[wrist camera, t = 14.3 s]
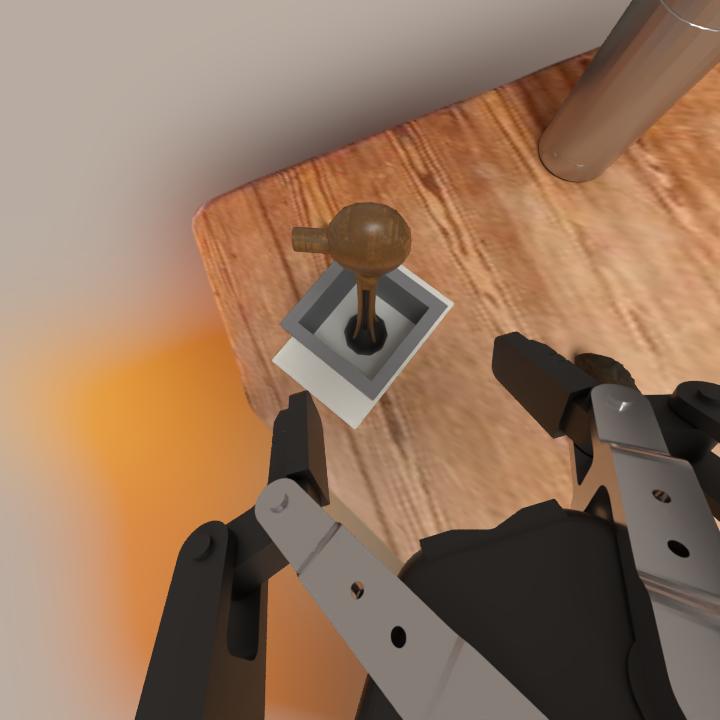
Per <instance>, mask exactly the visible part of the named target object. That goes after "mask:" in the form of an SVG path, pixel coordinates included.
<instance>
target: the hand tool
mask: <svg viewBox="0 0 720 720" xmlns="http://www.w3.org/2000/svg"><path fill="white" fill-rule="evenodd" d="M576 366H577V367H579V368H580V369H581V370H583V371H584V372H586V373H587V374H589V375H590V376H591V377H593V378H594V379H596V380H597V381H599V382H600V383H601V384H617V385H622V386H626V387H629V388H631V389H634V390H636V391H638V392H639V393H641V392H640V390H639V389H638V388H637V386H636V385H635V381H634V379H633V378H632V377H631V374H630V373H629V372H628V370H626V369H625V368H624V367H623V365H622V364H620V363H619V362H617V361H615V360H614V359H612V358H610V357H606V356H602V355H597V354H593V353H584V354H580V355H577V356H576Z"/></svg>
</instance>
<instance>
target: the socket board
mask: <svg viewBox="0 0 720 720" xmlns="http://www.w3.org/2000/svg"><path fill="white" fill-rule="evenodd" d="M454 304H455V303H453V302H452V301H450V300H449V299H448V298H446V297H445V296H444V295H442V294H441V293H439V292H438V291H437V290H435V289H434V288H433V287H431V286H430V285H429V284H427V283H426V282H424V281H423V280H422V279H420V278H419V277H418V276H416V275H415V274H413V273H412V272H411V271H409V270H408V269H407V268H405V267H404V266H402V265H400V266H399V267H398V268H396V269H395V270H393V271H391V272H389V273H388V274H382V275H381V277H380V279H379V281H378V282H377V289H376V300H375V313H376V314H377V315H378V316H379V317H380V318H381V319H383V320H384V322H385V325H386V329H387V333H388V337H387V339H386V341H385V344H384V346H383V349H381V350H380V351H378V352H376V353H375V354H373V355H371V356H369V355H357V354H356V353H355V352H354V351H353V350H351V349H350V348H349V347H348V346H347V343H346V338H345V334H344V330H345V328H346V326H347V323H348V321H349V319H350V318H351V317H352V316H354V315H356V314H358V297H357V281H356V279H355V275H354V273H352V272H349V271H346V270H345V269H344V268H343V267H341V266H340V265H339V264H338V263H337V262H336V261H334V262H333V263H332V264H331V265H330V267H329V268H328V269H327V270H326V271H325V272H324V273H323V275H322V276H321V277H320V278H319V279H318V280H317V282H316V283H315V284H314V285H313V286H312V287H311V288H310V290H309V291H308V292H307V293H306V294H305V295H304V297H303V298H302V299H301V300H300V301H299V302H298V303H297V305H296V306H295V307H294V308H293V309H292V310H291V312H290V313H289V314H288V315H287V316H286V317H285V318H284V320H283V321H282V322H281V323H280V324H279V325H281V326H282V327H283V328H284V329H285V330H286V331H287V332H288V333H290V334H291V335H292V337H291V338H290V339H289V341H288V342H287V343H286V344H285V345H284V346H283V348H282V349H281V350H280V351H279V352H278V354H277V355H276V356H275V357H274V358H273V359H272V361H273V362H274V363H275V364H276V365H277V366H279V367H280V368H281V369H282V370H284V371H285V372H286V373H287V374H288V375H290V376H291V377H292V378H293V379H294V380H296V381H297V382H298V383H299V384H300V385H302V386H303V387H304V388H305V389H306V390H308V391H309V392H310V393H311V394H312V395H314V396H315V397H316V398H317V399H318V400H320V401H321V402H322V403H323V404H324V405H326V406H327V407H328V408H329V409H330V410H332V411H333V412H334V413H335V414H336V415H338V416H339V417H340V418H341V419H343V420H344V421H345V422H346V423H347V424H349V425H350V426H351V427H352V428H353V429H356V428H357V427H358V426H359V424H360V423H361V422H362V421H363V419H364V418H365V417H366V416H367V414H368V413H369V412H370V410H371V409H372V408H373V407H374V405H375V404H376V403H377V402H378V400H379V399H380V398H381V396H382V395H383V394H384V393H385V391H386V390H387V389H388V388H389V386H390V385H391V384H392V382H393V381H394V380H395V379H396V377H397V376H398V375H399V374H400V372H401V371H402V370H403V368H404V367H405V366H406V365H407V363H408V362H409V361H410V360H411V358H412V357H413V356H414V354H415V353H416V352H417V351H418V349H419V348H420V347H421V346H422V344H423V343H424V342H425V341H426V339H427V338H428V337H429V335H430V334H431V333H432V332H433V330H434V329H435V328H436V327H437V325H438V324H439V323H440V321H441V320H442V319H443V318H444V316H445V315H446V314H447V313H448V311H449V310H450V309H451V307H452V306H453V305H454Z"/></svg>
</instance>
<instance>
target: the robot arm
mask: <svg viewBox="0 0 720 720" xmlns="http://www.w3.org/2000/svg"><path fill="white" fill-rule="evenodd" d="M719 62H720V0H632V1H631V3H630V5H629V6H628V7H627V9H626V10H625V12H624V13H623V15H622V16H621V18H620V19H619V21H618V22H617V24H616V25H615V27H614V28H613V30H612V31H611V33H610V34H609V36H608V37H607V39H606V40H605V41H604V43H603V44H602V46H601V47H600V49H599V50H598V52H597V53H596V55H595V56H594V58H593V59H592V61H591V62H590V64H589V65H588V67H587V68H586V70H585V71H584V73H583V74H582V76H581V77H580V79H579V80H578V82H577V83H576V85H575V86H574V88H573V89H572V91H571V92H570V94H569V95H568V97H567V98H566V100H565V101H564V102H563V104H562V105H561V107H560V108H559V110H558V111H557V113H556V114H555V116H554V117H553V119H552V120H551V122H550V123H549V125H548V126H547V128H546V129H545V131H544V132H543V134H542V136H541V138H540V141H539V154H540V157H541V160H542V162H543V163H544V165H545V166H546V167H547V168H548V170H549V171H551V172H552V173H553V174H554V175H556V176H558V177H560V178H562V179H565V180H568V181H575V182H582V181H588V180H592V179H594V178H596V177H598V176H599V175H601V174H602V173H603V172H604V171H605V170H606V169H607V168H608V167H610V166H611V165H612V164H613V163H614V162H615V161H616V160H617V159H618V158H619V157H620V156H621V155H622V154H623V153H624V152H625V151H626V150H627V149H628V148H629V147H630V146H632V145H633V144H634V143H635V142H636V141H637V140H638V139H639V138H640V137H641V136H642V135H643V134H644V133H645V132H646V131H647V130H649V129H650V128H651V127H652V126H653V125H654V124H655V123H656V122H657V121H658V120H659V119H660V118H661V117H662V116H663V115H664V114H665V113H666V112H667V111H668V110H669V109H671V108H672V107H673V106H674V105H675V104H676V103H677V102H678V101H679V100H680V99H681V98H682V97H683V96H684V95H685V94H686V93H687V92H688V91H689V90H690V89H691V88H693V87H694V86H695V85H696V84H697V83H698V82H699V81H700V80H701V79H702V78H703V77H704V76H705V75H706V74H707V73H708V72H709V71H710V70H711V69H712V68H713V67H715V66H716V65H717V64H718V63H719ZM492 371H493V374H494V376H495V377H496V379H497V380H498V381H499V382H500V383H501V384H502V385H503V386H504V387H505V388H506V389H507V390H508V391H509V393H510V394H511V395H512V396H513V397H514V398H515V399H516V400H517V401H518V402H519V403H520V404H521V405H522V406H523V407H524V408H525V409H526V410H527V411H528V412H529V414H530V415H531V416H532V417H533V418H534V419H535V420H536V421H537V422H538V423H539V424H540V425H541V426H542V427H543V428H544V429H545V430H546V431H547V432H548V433H549V435H550V436H551V437H552V438H553V439H554V438H558V437H561V436H565V435H567V436H568V437H569V438H570V439H571V441H570V443H569V449H570V460H571V471H572V483H573V498H572V502H571V509H562V507H561V506H560V505H559V504H558V502H557V501H556V500H555V499H552V500H548V501H545V502H542V503H539V504H535V505H532V506H529V507H525V508H522V509H521V510H519V511H518V512H516V513H515V514H514V515H512V516H511V517H510V518H508V519H507V520H505V521H504V522H503V523H501V524H500V525H499V526H497V527H496V528H494V529H489V530H450V531H447V532H443V533H440V534H437V535H434V536H430V537H427V538H424V539H420V540H419V541H420V547H421V550H419V551H418V552H417V553H415V554H414V555H413V556H412V557H411V558H410V559H409V560H408V561H407V562H406V564H405V565H404V566H403V568H402V569H401V571H400V572H399V574H398V576H396V575H395V574H394V573H392V572H391V571H390V570H389V569H388V568H387V567H386V566H385V565H384V564H383V563H382V562H381V561H380V560H379V559H378V558H377V557H376V556H375V555H374V554H373V553H372V552H371V551H370V550H369V549H367V547H366V546H364V544H362V543H361V542H360V541H359V540H358V539H357V538H356V537H355V536H354V535H353V534H352V533H351V532H350V531H349V530H348V529H347V528H346V527H345V526H343V525H342V524H341V523H337V522H336V521H335V520H333V518H331V517H330V516H329V515H328V514H327V513H326V512H325V511H324V510H323V509H322V507H323V506H326V505H329V504H330V500H329V490H328V479H327V468H326V457H325V447H324V436H323V427H322V422H321V418H320V415H319V413H318V411H317V409H316V406H315V404H314V402H313V400H312V397H311V395H310V393H309V391H308V390H306V391H302V392H299V393H295V394H292V395H290V396H289V409H286V410H282V411H280V412H279V414H278V416H277V418H276V420H275V421H274V427H273V437H272V448H271V458H270V468H269V478H268V485H267V487H266V488H265V489H264V490H263V491H262V492H261V494H260V495H259V497H258V499H257V501H256V504H255V505H254V506H253V507H252V508H251V509H249V510H248V511H247V512H245V513H244V514H242V515H240V516H239V517H237V518H236V519H234V520H232V521H231V522H229V523H228V524H226V525H225V524H224V523H223V522H220V521H210V522H207V523H205V524H203V525H201V526H200V527H198V528H197V529H196V530H195V531H194V532H192V533H191V535H190V536H189V537H188V538H187V540H186V541H185V542H184V544H183V546H182V548H181V550H180V552H179V555H178V558H177V562H176V566H175V569H174V573H173V577H172V581H171V584H170V588H169V592H168V596H167V599H166V603H165V607H164V611H163V615H162V618H161V622H160V626H159V630H158V633H157V637H156V641H155V645H154V649H153V652H152V656H151V660H150V663H149V667H148V671H147V675H146V679H145V682H144V686H143V690H142V694H141V697H140V701H139V705H138V709H137V712H136V716H135V720H264V715H265V714H264V713H265V678H266V674H265V673H266V639H267V601H268V599H267V598H268V579H269V578H270V577H272V576H273V575H274V574H276V573H277V572H279V571H280V570H281V569H283V568H284V567H285V566H287V565H288V564H289V563H290V564H291V565H292V567H293V568H294V570H295V571H296V572H297V576H298V578H299V579H300V581H301V582H302V584H303V585H304V586H305V588H306V589H307V590H308V592H309V593H310V595H311V596H312V597H313V599H314V600H315V601H316V603H317V604H318V605H319V607H320V608H321V610H322V611H323V612H324V614H325V615H326V616H327V618H328V619H329V620H330V622H331V623H332V624H333V626H334V627H335V628H336V630H337V631H338V633H339V634H340V635H341V636H342V638H343V639H344V641H345V642H346V643H347V644H348V646H349V647H350V648H351V650H352V651H353V653H354V654H355V655H356V657H357V658H358V660H359V661H360V662H361V664H362V665H363V666H364V667H365V669H366V670H367V672H368V674H367V678H366V681H365V685H364V688H363V691H362V695H361V698H360V702H359V705H358V709H357V713H356V716H355V720H720V531H719V529H718V526H717V524H716V522H715V519H714V517H715V518H716V519H717V520H718V521H720V457H718V456H717V455H716V454H714V453H713V452H711V450H712V449H713V448H714V447H715V446H716V445H717V444H718V443H720V385H717V384H714V383H709V382H703V381H688V382H683V383H681V384H679V385H678V386H677V388H676V389H675V391H674V392H673V394H669V395H642V394H641V393H639V392H638V391H636V390H634V389H631V388H629V387H626V386H622V385H617V384H601V383H600V382H599V381H597V380H596V379H594V378H593V377H591V376H590V375H589V374H587V373H586V372H584V371H583V370H581V369H580V368H579V367H577V366H576V365H574V364H573V363H571V362H570V361H569V360H566V358H564V357H563V356H561V355H560V354H557V352H556V351H554V350H553V349H551V348H550V347H549V346H547V345H545V344H543V343H540V342H537V341H535V340H528V339H527V338H526V337H524V336H523V335H521V334H520V333H519V332H511V333H508V334H504V335H501V336H498V337H496V338H495V341H494V349H493V358H492ZM713 516H714V517H713Z"/></svg>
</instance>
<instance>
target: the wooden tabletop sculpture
mask: <svg viewBox="0 0 720 720" xmlns="http://www.w3.org/2000/svg"><path fill="white" fill-rule="evenodd" d="M292 246H293V249H294V251H296V252H310V253H323V254H330V255H331V257H332V258H333V259H334V260H335V261H336V262H337V263H338V264H339V265H340V266H341V267H343V268H344V269H345V270H346V271H349V272H352V273H354V275H355V279H356V281H357V297H358V314H356V315H354V316H352V317H351V318H350V319H349V321H348V323H347V326H346V328H345V330H344V334H345V338H346V343H347V346H348V347H349V348H350V349H351V350H353V351H354V352H355V353H356V354H357V355H369V356H371V355H373V354H375V353H376V352H378V351H380V350H381V349H383V346H384V344H385V341H386V339H387V337H388V333H387V329H386V325H385V322H384V320H383V319H381V318H380V317H379V316H378V315H377V314H376V313H375V300H376V289H377V282H378V281H379V279H380V277H381V275H382V274H388V273H389V272H391V271H393V270H395V269H396V268H398V267H399V266H400V265H401V264H402V263H403V262H404V261H405V259H406V258H407V256H408V254H409V253H410V249H411V231H410V228H409V226H408V225H407V223H406V222H405V221H404V219H403V218H402V217H401V215H400V214H399V213H398V211H396V210H394V209H393V208H391V207H389V206H387V205H383V204H378V203H373V202H367V203H355V204H352V205H350V206H347V207H344V208H343V209H342V210H341V211H340V212H339V213H338V214H337V215H336V216H335V217H334V218H333V220H332V221H331V222H330V224H329V227H328V229H319V228H305V227H293V230H292Z"/></svg>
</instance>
